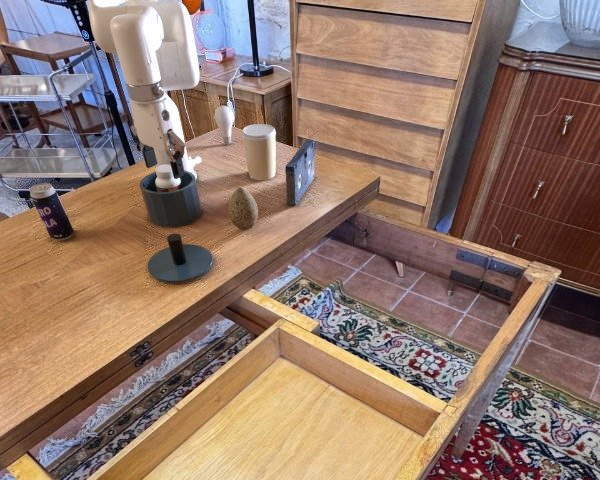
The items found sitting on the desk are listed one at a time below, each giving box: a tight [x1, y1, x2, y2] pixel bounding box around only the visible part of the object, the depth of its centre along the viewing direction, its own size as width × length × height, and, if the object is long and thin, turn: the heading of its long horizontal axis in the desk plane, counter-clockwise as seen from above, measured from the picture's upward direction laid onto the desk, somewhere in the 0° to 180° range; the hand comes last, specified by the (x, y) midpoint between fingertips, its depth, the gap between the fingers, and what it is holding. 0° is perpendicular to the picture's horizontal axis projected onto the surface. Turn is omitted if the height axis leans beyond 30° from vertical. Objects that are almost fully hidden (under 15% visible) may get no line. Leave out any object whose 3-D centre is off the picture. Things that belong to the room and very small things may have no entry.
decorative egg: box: [227, 187, 259, 231], centre depth 107 cm, size 7×7×10 cm
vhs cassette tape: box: [284, 139, 316, 207], centre depth 119 cm, size 18×3×10 cm, turn 161°
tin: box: [139, 170, 202, 228], centre depth 113 cm, size 14×14×8 cm
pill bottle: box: [154, 164, 182, 193], centre depth 111 cm, size 6×6×11 cm
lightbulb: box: [213, 105, 235, 146], centre depth 141 cm, size 6×6×11 cm
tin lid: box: [147, 233, 214, 284], centre depth 98 cm, size 15×15×7 cm
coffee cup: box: [241, 123, 277, 181], centre depth 126 cm, size 9×9×12 cm
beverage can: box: [29, 182, 74, 242], centre depth 105 cm, size 6×6×12 cm
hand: (165, 171), depth 109 cm, fingers open, 9 cm apart
